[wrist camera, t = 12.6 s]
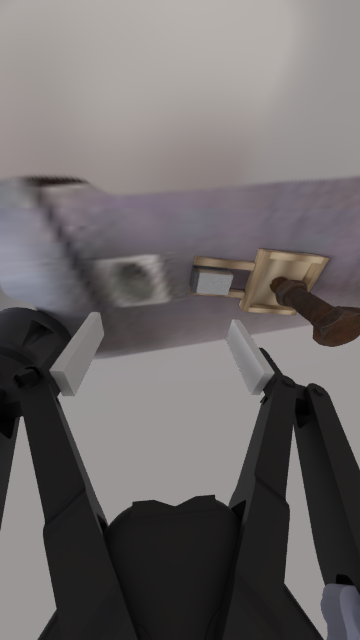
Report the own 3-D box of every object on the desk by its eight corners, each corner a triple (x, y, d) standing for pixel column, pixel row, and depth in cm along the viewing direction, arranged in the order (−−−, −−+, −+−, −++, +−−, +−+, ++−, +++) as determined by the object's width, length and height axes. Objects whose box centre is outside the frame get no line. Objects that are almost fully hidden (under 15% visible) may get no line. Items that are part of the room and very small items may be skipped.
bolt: (282, 263, 29) (363, 303, 17) (296, 278, 31) (379, 324, 19) (256, 287, 32) (311, 338, 20) (271, 300, 34) (330, 354, 22)
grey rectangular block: (189, 284, 31) (191, 293, 28) (192, 265, 29) (195, 272, 26) (222, 287, 32) (227, 295, 29) (227, 268, 30) (233, 275, 27)
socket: (187, 302, 34) (189, 308, 32) (197, 241, 27) (199, 244, 25) (288, 308, 36) (295, 314, 34) (318, 254, 29) (329, 258, 27)
